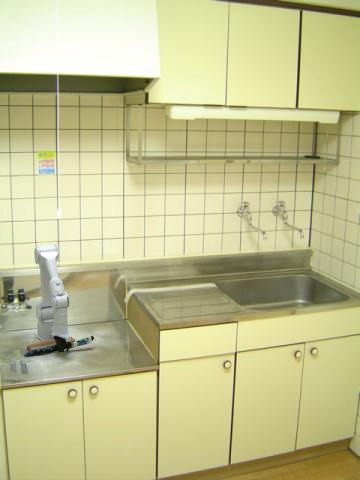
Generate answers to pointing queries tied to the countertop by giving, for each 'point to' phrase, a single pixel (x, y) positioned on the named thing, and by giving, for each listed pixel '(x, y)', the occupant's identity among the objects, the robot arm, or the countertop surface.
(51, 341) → the walnut board
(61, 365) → the countertop surface
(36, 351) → the knife
